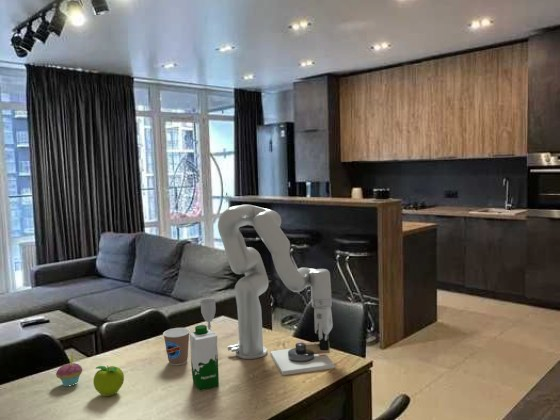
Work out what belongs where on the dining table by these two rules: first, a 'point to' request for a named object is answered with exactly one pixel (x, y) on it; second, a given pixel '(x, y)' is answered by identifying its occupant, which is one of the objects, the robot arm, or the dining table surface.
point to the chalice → (208, 310)
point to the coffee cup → (177, 345)
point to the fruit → (108, 380)
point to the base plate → (300, 363)
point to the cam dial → (305, 352)
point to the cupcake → (69, 373)
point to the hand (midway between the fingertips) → (324, 349)
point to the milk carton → (204, 358)
